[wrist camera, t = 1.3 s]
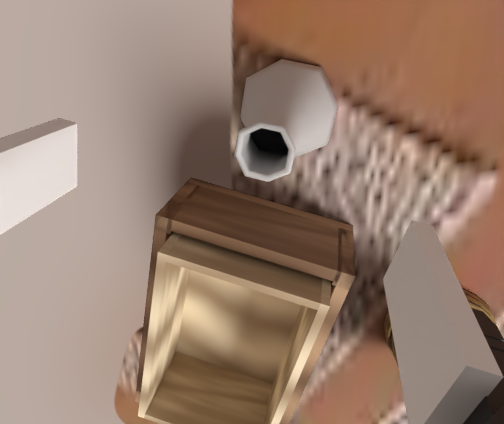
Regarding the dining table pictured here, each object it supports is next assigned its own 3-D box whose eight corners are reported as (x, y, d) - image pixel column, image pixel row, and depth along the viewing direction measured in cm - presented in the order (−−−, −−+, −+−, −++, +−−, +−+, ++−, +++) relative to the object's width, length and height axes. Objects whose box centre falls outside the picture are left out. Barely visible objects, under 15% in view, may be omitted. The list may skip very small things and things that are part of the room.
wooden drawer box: (191, 177, 32) (155, 214, 26) (352, 225, 31) (355, 276, 25) (164, 346, 42) (134, 401, 36) (285, 386, 41) (276, 451, 35)
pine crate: (198, 200, 32) (157, 251, 25) (332, 241, 31) (329, 306, 24) (173, 347, 41) (137, 416, 34) (277, 382, 40) (263, 460, 33)
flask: (232, 65, 27) (182, 88, 19) (335, 50, 26) (332, 68, 17) (248, 161, 31) (211, 218, 22) (340, 153, 29) (340, 213, 20)
